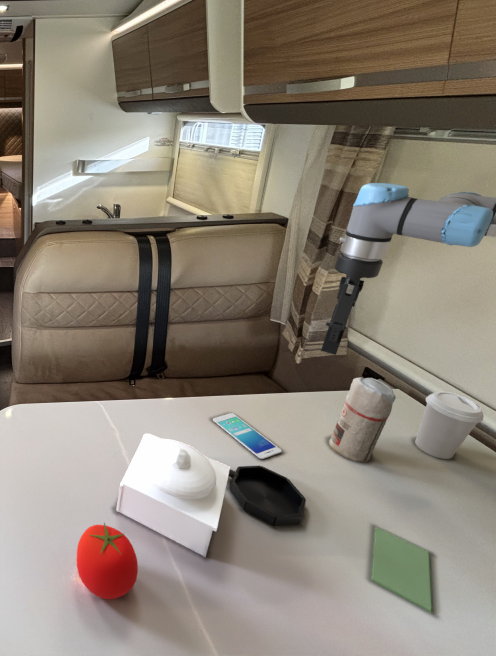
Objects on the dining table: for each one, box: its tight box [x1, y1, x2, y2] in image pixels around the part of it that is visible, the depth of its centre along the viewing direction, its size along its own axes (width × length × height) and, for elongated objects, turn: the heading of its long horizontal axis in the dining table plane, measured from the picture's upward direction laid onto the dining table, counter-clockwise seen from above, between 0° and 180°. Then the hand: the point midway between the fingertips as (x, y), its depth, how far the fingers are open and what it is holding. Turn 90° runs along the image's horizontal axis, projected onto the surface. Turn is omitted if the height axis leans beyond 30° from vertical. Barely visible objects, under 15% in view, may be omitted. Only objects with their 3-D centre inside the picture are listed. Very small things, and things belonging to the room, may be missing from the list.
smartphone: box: [212, 412, 283, 461], centre depth 110 cm, size 8×1×15 cm
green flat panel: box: [370, 526, 434, 615], centre depth 79 cm, size 8×14×1 cm, turn 137°
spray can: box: [328, 377, 396, 463], centre depth 102 cm, size 8×8×20 cm
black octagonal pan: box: [228, 465, 307, 527], centre depth 95 cm, size 22×13×3 cm, turn 47°
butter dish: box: [115, 432, 231, 558], centre depth 89 cm, size 18×18×16 cm
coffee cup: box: [414, 390, 484, 460], centre depth 103 cm, size 10×10×15 cm
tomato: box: [76, 522, 139, 600], centre depth 76 cm, size 10×11×11 cm
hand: (331, 340), depth 100 cm, fingers open, 13 cm apart
